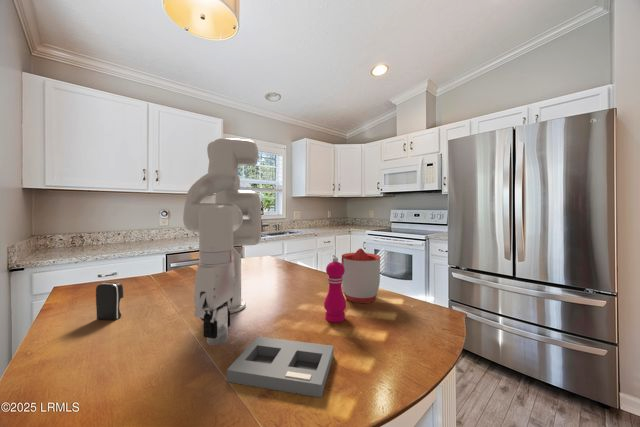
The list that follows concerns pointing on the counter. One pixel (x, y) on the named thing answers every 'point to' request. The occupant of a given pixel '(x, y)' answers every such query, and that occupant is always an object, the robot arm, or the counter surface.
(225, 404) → the counter surface
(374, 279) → the citrus juicer
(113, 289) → the battery charger
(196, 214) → the robot arm
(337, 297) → the pepper mill
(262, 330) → the counter surface
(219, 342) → the bushing
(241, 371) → the block
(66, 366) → the counter surface
